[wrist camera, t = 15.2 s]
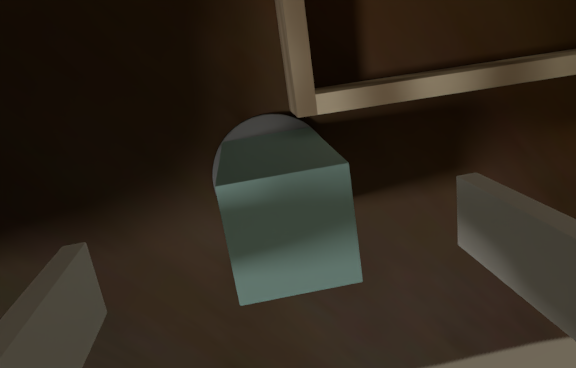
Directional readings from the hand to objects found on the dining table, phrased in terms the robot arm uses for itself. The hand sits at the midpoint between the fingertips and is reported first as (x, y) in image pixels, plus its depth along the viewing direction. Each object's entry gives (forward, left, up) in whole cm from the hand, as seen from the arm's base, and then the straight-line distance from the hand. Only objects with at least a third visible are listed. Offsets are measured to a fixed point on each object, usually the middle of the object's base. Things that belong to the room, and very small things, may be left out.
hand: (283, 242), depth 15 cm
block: (0, 0, -10) cm, 10 cm away
